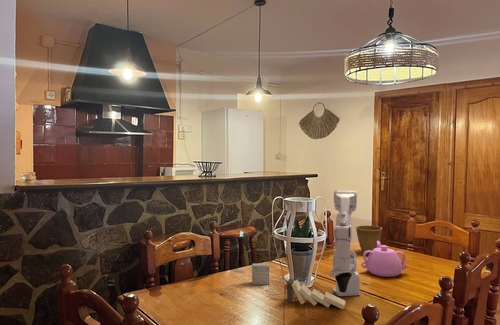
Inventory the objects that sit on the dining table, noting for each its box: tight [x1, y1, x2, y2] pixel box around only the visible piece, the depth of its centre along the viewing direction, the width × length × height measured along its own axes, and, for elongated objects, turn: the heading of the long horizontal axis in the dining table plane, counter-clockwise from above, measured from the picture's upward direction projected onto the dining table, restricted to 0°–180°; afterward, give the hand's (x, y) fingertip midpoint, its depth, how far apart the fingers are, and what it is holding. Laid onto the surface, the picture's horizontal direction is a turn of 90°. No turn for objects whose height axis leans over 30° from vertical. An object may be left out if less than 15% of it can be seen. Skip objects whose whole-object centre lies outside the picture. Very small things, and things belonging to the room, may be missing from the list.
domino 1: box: [286, 278, 294, 304], centre depth 146 cm, size 2×5×8 cm, turn 161°
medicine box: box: [251, 262, 270, 286], centre depth 166 cm, size 8×4×9 cm, turn 92°
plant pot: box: [355, 225, 383, 257], centre depth 216 cm, size 15×15×16 cm
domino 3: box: [299, 283, 319, 307], centre depth 144 cm, size 2×5×8 cm
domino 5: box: [323, 291, 346, 310], centre depth 140 cm, size 2×5×8 cm
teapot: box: [361, 240, 408, 278], centre depth 182 cm, size 22×22×14 cm
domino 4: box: [310, 288, 332, 308], centre depth 142 cm, size 2×5×8 cm
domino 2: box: [292, 279, 307, 305], centre depth 145 cm, size 2×5×8 cm, turn 162°
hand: (342, 291), depth 139 cm, fingers closed
